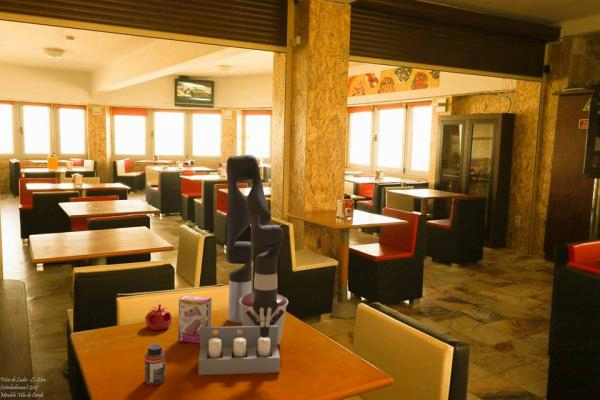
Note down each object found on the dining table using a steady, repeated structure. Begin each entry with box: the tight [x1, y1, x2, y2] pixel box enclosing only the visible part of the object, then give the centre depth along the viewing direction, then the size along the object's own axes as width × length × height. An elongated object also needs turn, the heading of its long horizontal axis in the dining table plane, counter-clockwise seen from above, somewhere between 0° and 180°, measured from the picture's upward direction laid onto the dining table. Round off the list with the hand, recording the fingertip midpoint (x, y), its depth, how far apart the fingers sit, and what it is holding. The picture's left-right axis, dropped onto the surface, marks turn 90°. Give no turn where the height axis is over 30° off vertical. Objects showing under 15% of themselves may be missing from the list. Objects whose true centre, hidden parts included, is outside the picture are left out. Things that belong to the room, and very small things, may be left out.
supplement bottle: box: [144, 343, 166, 386], centre depth 149 cm, size 6×6×11 cm
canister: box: [239, 292, 289, 346], centre depth 179 cm, size 18×18×21 cm
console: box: [197, 325, 281, 376], centre depth 161 cm, size 10×26×12 cm, turn 98°
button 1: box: [209, 338, 221, 358], centre depth 158 cm, size 4×4×5 cm
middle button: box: [233, 338, 246, 357], centre depth 159 cm, size 4×4×5 cm
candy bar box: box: [177, 295, 213, 344], centre depth 180 cm, size 11×5×16 cm, turn 84°
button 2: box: [258, 337, 270, 357], centre depth 161 cm, size 4×4×5 cm
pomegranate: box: [144, 304, 172, 331], centre depth 192 cm, size 10×10×9 cm
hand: (264, 336), depth 160 cm, fingers closed
